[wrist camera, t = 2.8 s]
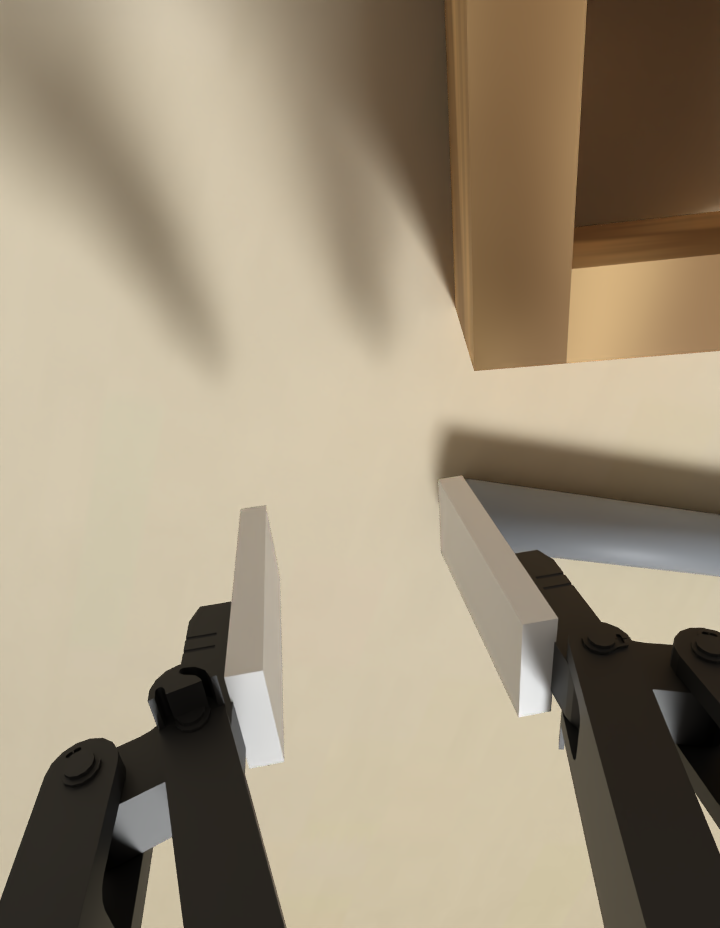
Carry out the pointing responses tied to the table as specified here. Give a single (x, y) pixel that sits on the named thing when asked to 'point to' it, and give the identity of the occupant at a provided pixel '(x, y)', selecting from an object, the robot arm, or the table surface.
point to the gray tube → (602, 529)
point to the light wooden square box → (555, 209)
